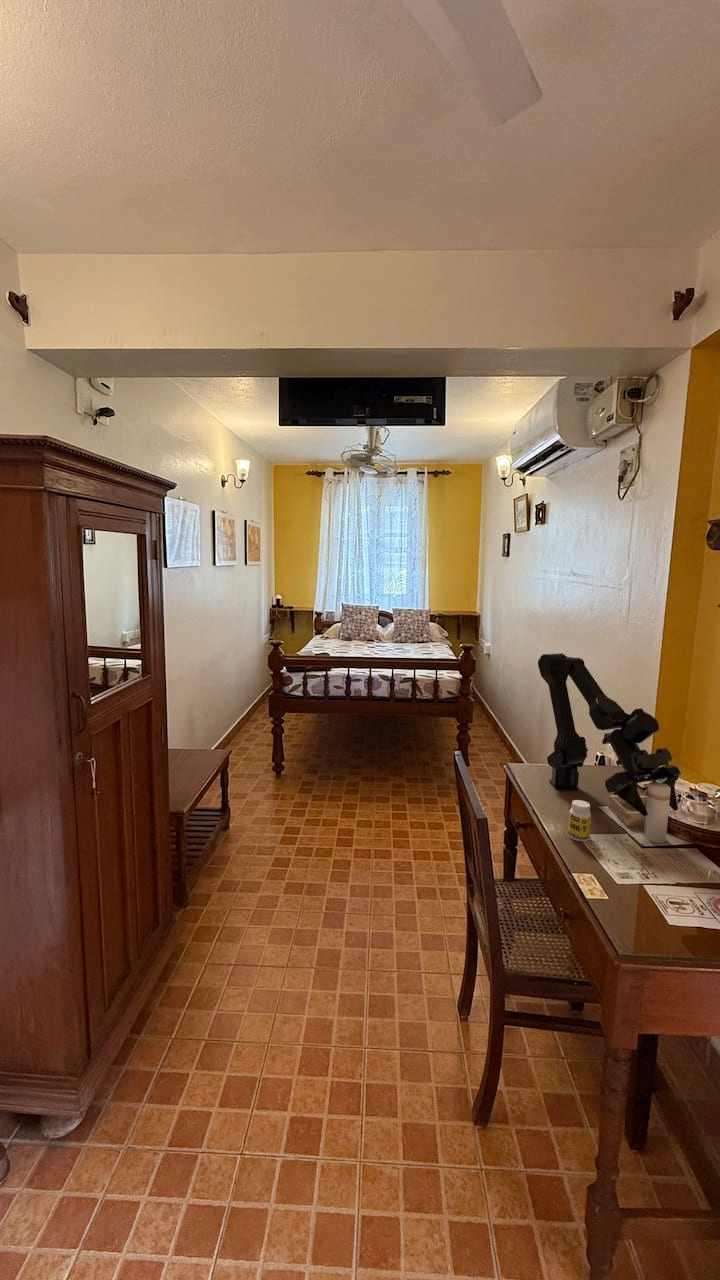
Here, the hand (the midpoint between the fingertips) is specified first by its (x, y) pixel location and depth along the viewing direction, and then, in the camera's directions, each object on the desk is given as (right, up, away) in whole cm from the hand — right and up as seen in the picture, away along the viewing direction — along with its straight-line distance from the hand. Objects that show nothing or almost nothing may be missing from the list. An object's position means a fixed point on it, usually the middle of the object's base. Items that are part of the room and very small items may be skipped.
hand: (661, 812), depth 128 cm
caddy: (+1, -5, +13) cm, 14 cm away
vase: (0, -7, +2) cm, 7 cm away
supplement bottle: (-18, -7, +2) cm, 20 cm away
